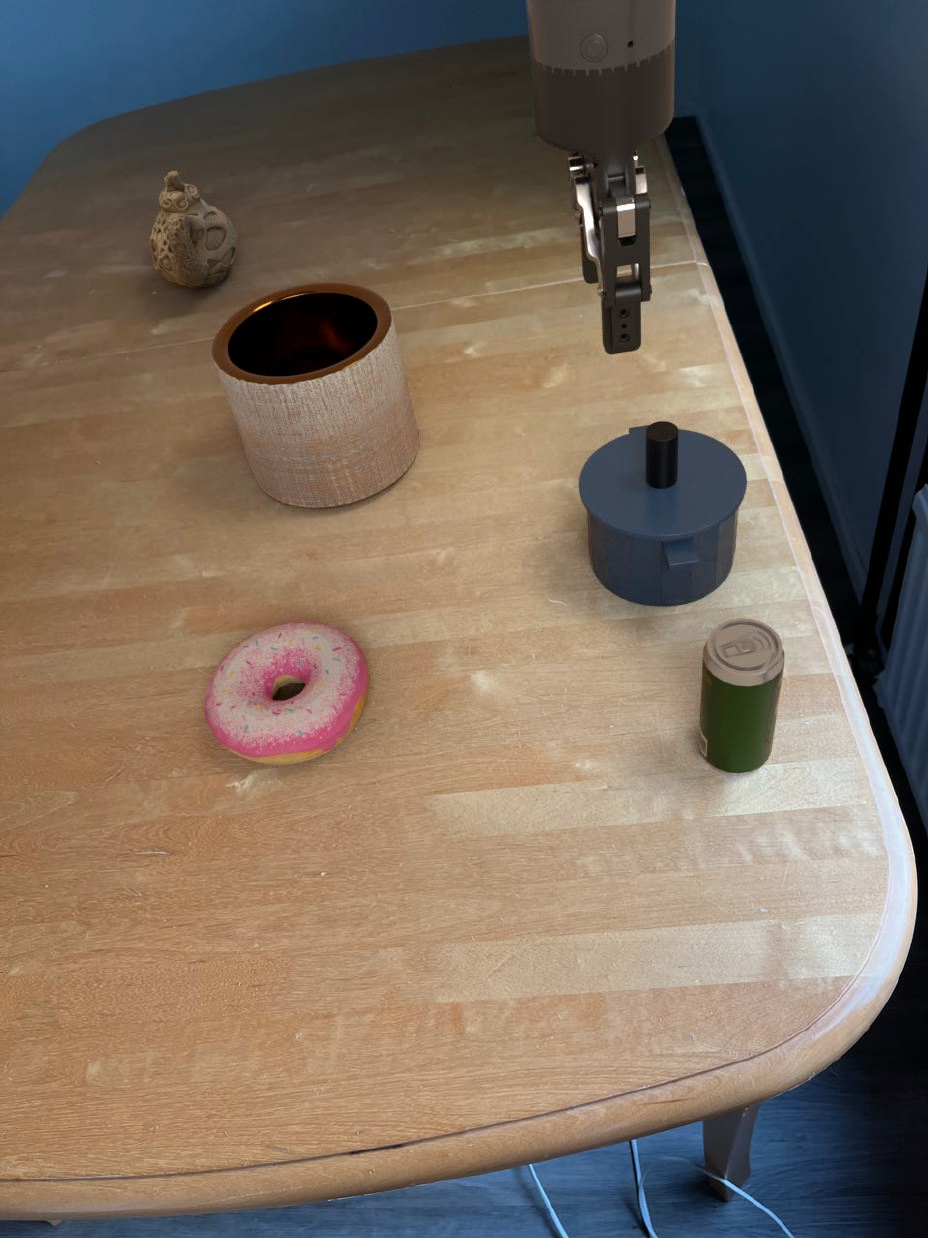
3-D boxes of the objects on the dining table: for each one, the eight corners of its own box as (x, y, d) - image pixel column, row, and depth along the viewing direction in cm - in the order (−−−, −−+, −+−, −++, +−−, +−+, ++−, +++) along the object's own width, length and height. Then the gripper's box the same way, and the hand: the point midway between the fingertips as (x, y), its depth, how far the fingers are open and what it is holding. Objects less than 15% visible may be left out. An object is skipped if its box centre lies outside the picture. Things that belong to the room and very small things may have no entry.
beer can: (715, 788, 75) (724, 686, 66) (686, 732, 79) (690, 628, 70) (784, 766, 75) (801, 662, 67) (751, 712, 79) (763, 606, 70)
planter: (424, 401, 113) (399, 270, 101) (416, 507, 101) (386, 373, 89) (269, 416, 115) (227, 290, 103) (242, 523, 103) (191, 393, 91)
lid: (724, 427, 90) (727, 369, 86) (765, 531, 81) (772, 472, 77) (569, 450, 91) (564, 393, 87) (592, 556, 82) (588, 499, 77)
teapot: (162, 257, 145) (122, 150, 134) (241, 238, 146) (208, 130, 135) (167, 333, 131) (122, 220, 120) (255, 311, 131) (219, 197, 120)
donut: (209, 788, 81) (189, 752, 78) (223, 661, 90) (205, 623, 87) (376, 763, 81) (363, 726, 77) (372, 638, 90) (361, 599, 86)
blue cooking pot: (708, 481, 98) (712, 408, 92) (757, 618, 85) (765, 544, 79) (577, 500, 98) (572, 429, 92) (607, 639, 86) (604, 567, 80)
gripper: (704, 72, 48) (694, 366, 60) (647, -20, 58) (648, 249, 69) (545, 98, 48) (566, 386, 60) (515, 3, 58) (538, 267, 70)
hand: (610, 312), depth 65 cm, fingers open, 8 cm apart
